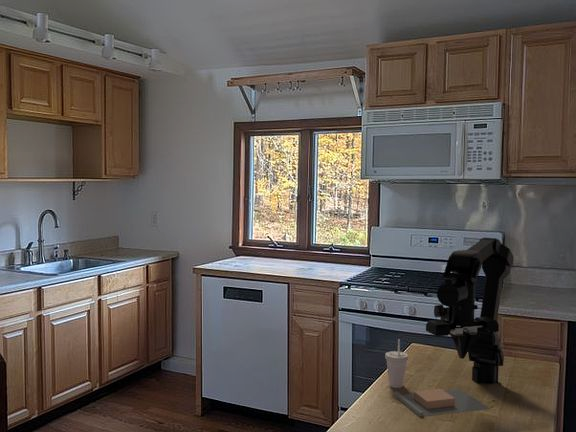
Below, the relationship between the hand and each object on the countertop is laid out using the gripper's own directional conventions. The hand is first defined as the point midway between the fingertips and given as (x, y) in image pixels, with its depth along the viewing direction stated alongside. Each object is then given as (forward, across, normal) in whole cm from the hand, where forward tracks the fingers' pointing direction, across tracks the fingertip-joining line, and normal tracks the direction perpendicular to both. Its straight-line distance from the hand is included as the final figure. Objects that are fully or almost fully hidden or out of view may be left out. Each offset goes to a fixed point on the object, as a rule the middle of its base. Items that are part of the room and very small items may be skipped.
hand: (461, 358), depth 152 cm
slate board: (+12, +6, 0) cm, 13 cm away
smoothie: (+12, +12, -14) cm, 22 cm away
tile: (+10, +4, 0) cm, 11 cm away
